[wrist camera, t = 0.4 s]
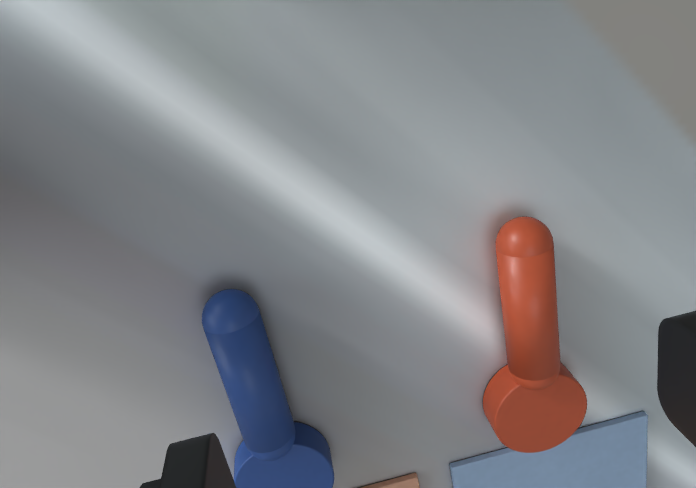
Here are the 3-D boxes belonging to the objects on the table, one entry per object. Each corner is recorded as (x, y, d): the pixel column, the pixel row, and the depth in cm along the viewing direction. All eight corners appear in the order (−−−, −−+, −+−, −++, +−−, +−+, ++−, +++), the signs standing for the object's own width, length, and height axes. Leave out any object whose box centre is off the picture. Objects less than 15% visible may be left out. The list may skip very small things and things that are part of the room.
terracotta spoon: (458, 222, 28) (477, 243, 25) (562, 196, 28) (590, 215, 26) (487, 441, 33) (504, 474, 31) (572, 417, 34) (596, 449, 31)
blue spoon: (169, 293, 27) (161, 322, 25) (278, 266, 27) (281, 292, 25) (249, 504, 33) (248, 544, 30) (338, 480, 33) (345, 518, 31)
